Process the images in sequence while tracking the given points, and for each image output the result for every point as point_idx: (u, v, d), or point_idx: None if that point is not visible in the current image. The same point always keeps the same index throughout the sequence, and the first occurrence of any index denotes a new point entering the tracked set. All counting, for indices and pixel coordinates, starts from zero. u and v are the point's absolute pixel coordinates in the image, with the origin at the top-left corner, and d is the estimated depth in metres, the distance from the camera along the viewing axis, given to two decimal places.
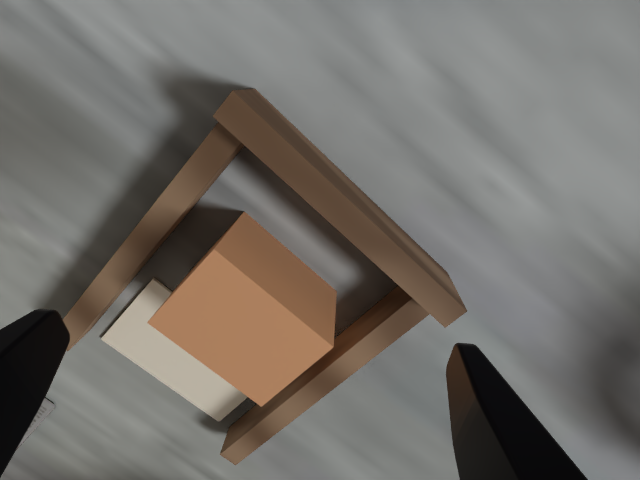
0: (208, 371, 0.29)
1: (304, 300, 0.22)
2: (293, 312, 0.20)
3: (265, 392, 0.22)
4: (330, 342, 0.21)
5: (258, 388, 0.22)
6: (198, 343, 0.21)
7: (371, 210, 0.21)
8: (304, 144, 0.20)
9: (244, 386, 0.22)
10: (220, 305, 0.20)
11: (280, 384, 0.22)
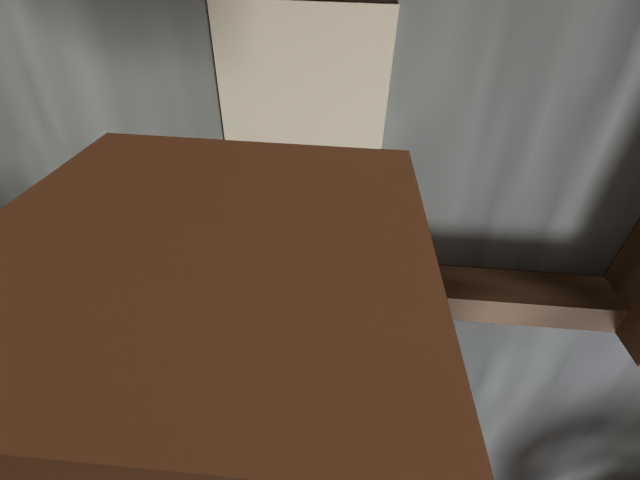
0: None
1: None
2: None
3: None
4: None
5: None
6: None
7: None
8: None
9: None
10: None
11: None
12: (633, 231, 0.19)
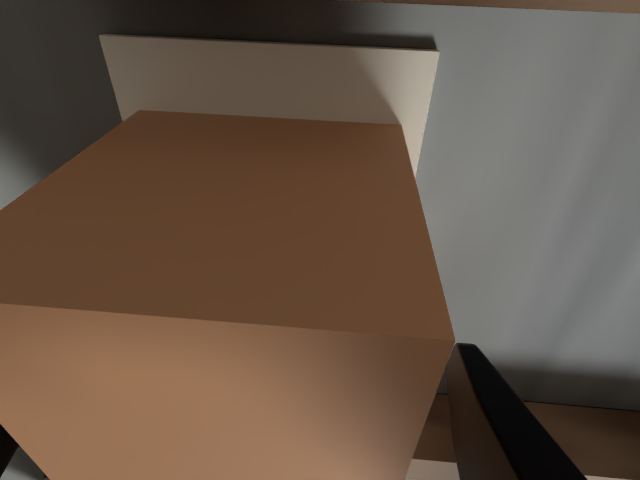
0: None
1: None
2: None
3: None
4: None
5: None
6: (63, 433, 0.06)
7: None
8: None
9: None
10: (246, 429, 0.05)
11: None
12: None
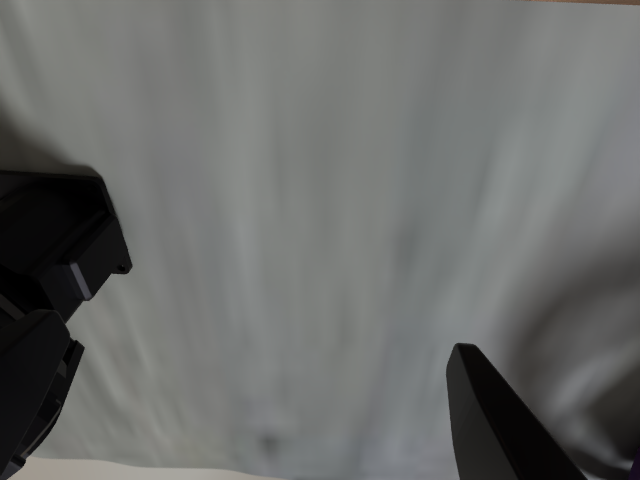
0: None
1: None
2: None
3: None
4: None
5: None
6: None
7: None
8: None
9: None
10: None
11: None
12: None
